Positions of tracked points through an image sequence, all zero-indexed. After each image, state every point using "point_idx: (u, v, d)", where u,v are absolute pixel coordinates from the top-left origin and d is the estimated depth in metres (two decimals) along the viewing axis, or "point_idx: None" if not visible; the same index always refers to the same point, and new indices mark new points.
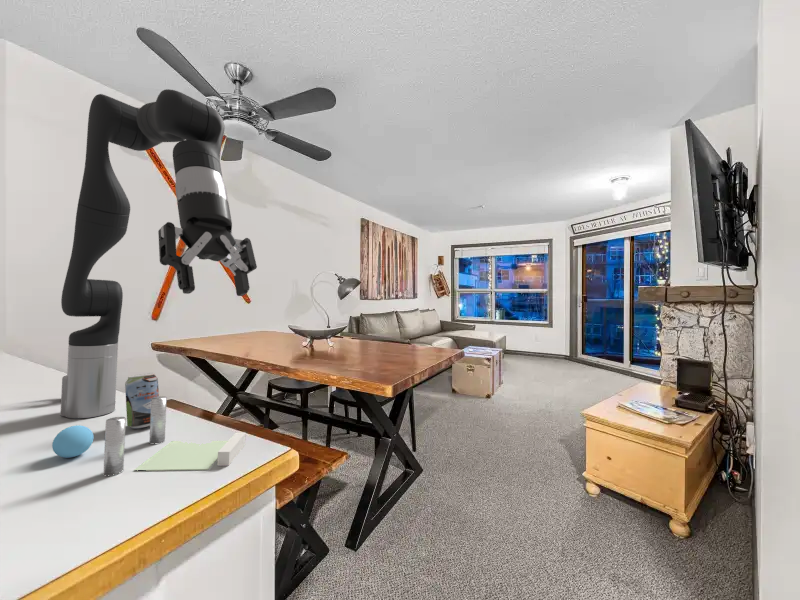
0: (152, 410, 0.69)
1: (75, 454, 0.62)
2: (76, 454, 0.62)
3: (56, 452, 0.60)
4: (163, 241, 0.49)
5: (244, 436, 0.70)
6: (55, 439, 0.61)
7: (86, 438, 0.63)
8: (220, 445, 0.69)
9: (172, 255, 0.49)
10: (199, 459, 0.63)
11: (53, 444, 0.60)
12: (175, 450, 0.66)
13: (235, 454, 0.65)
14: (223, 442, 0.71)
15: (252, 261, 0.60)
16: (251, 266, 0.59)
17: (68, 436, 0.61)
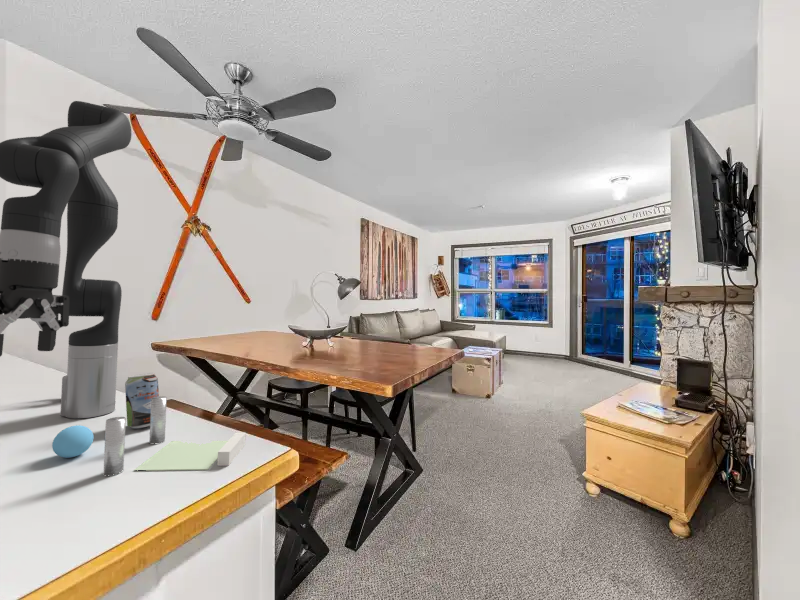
0: (152, 410, 0.69)
1: (75, 454, 0.62)
2: (76, 454, 0.62)
3: (56, 452, 0.60)
4: None
5: (244, 436, 0.70)
6: (55, 439, 0.61)
7: (86, 438, 0.63)
8: (220, 445, 0.69)
9: None
10: (199, 459, 0.63)
11: (53, 444, 0.60)
12: (175, 450, 0.66)
13: (235, 454, 0.65)
14: (223, 442, 0.71)
15: (65, 319, 0.65)
16: (63, 324, 0.65)
17: (68, 436, 0.61)
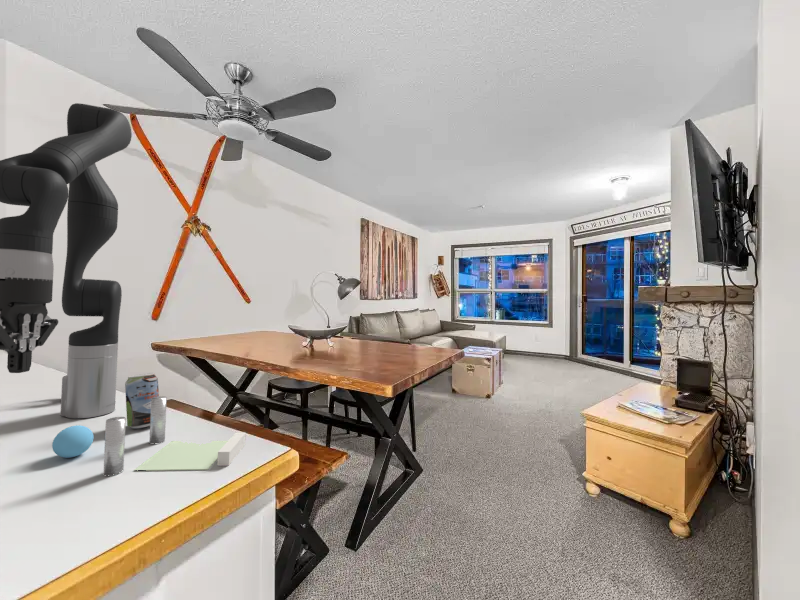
0: (152, 410, 0.69)
1: (75, 454, 0.62)
2: (76, 454, 0.62)
3: (56, 452, 0.60)
4: None
5: (244, 436, 0.70)
6: (55, 439, 0.61)
7: (86, 438, 0.63)
8: (220, 445, 0.69)
9: (14, 346, 0.59)
10: (199, 459, 0.63)
11: (53, 444, 0.60)
12: (175, 450, 0.66)
13: (235, 454, 0.65)
14: (223, 442, 0.71)
15: (43, 339, 0.65)
16: (38, 343, 0.64)
17: (68, 436, 0.61)
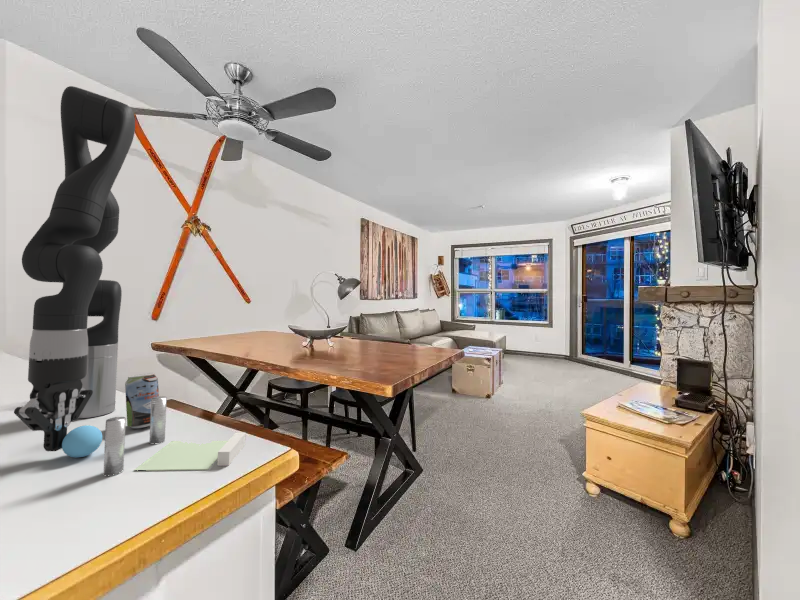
0: (152, 410, 0.69)
1: (81, 456, 0.62)
2: (82, 456, 0.62)
3: (64, 450, 0.61)
4: (33, 422, 0.57)
5: (244, 436, 0.70)
6: (67, 437, 0.61)
7: (96, 442, 0.63)
8: (220, 445, 0.69)
9: (50, 427, 0.59)
10: (199, 459, 0.63)
11: (65, 441, 0.61)
12: (175, 450, 0.66)
13: (235, 454, 0.65)
14: (223, 442, 0.71)
15: (78, 412, 0.65)
16: (73, 418, 0.64)
17: (80, 437, 0.61)
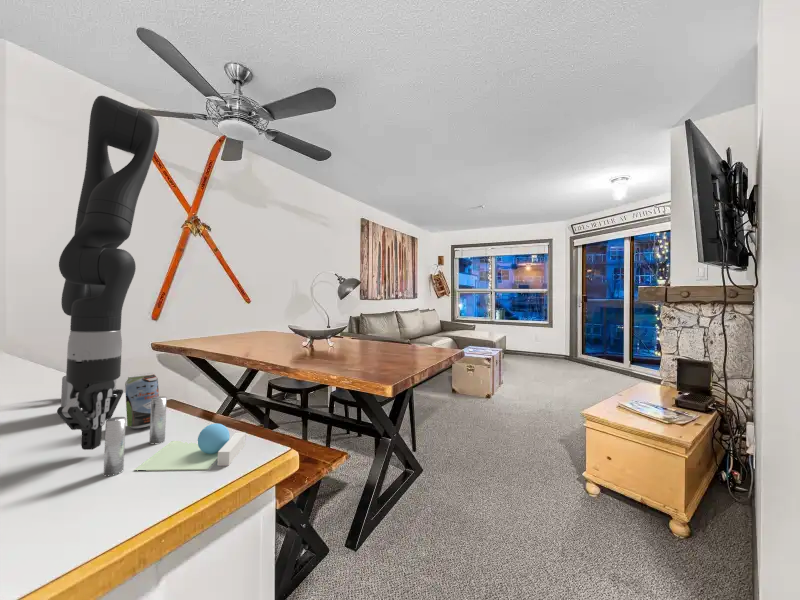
0: (152, 410, 0.69)
1: None
2: None
3: (207, 436, 0.64)
4: (74, 421, 0.59)
5: (244, 436, 0.70)
6: (219, 439, 0.65)
7: None
8: None
9: (89, 426, 0.61)
10: (199, 459, 0.63)
11: (216, 437, 0.65)
12: (175, 450, 0.66)
13: (235, 454, 0.65)
14: None
15: (111, 411, 0.66)
16: (107, 417, 0.66)
17: (215, 450, 0.65)
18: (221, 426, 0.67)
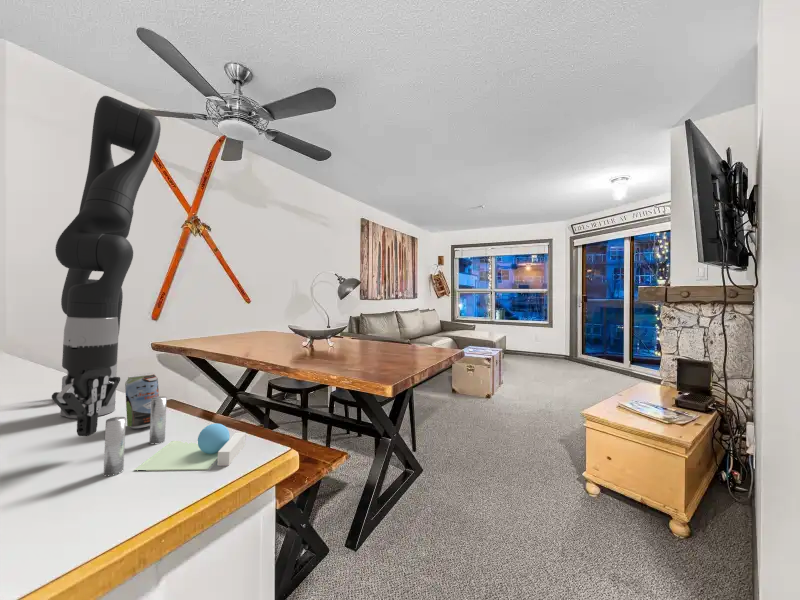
0: (152, 410, 0.69)
1: None
2: None
3: (207, 436, 0.64)
4: (69, 407, 0.58)
5: (244, 436, 0.70)
6: (219, 439, 0.65)
7: None
8: None
9: (84, 412, 0.61)
10: (199, 459, 0.63)
11: (216, 437, 0.65)
12: (175, 450, 0.66)
13: (235, 454, 0.65)
14: None
15: (108, 398, 0.66)
16: (104, 404, 0.65)
17: (215, 450, 0.65)
18: (221, 426, 0.67)
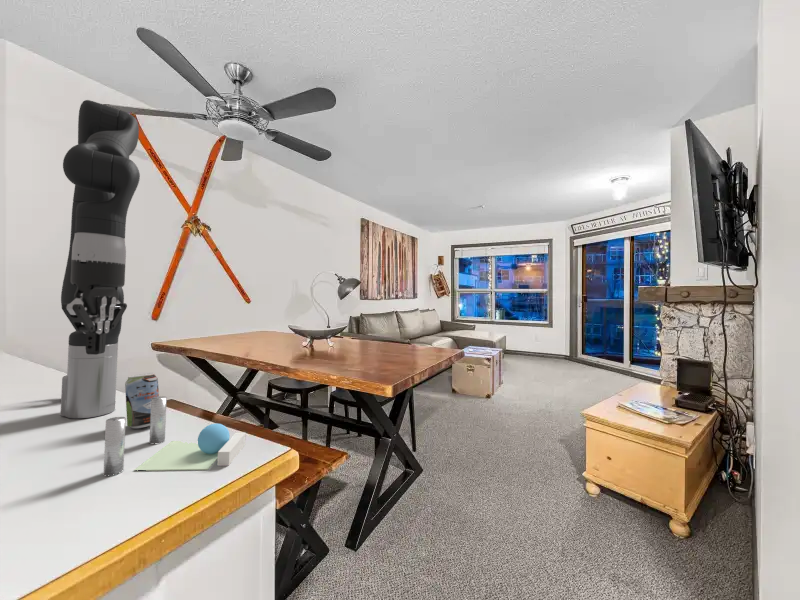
0: (152, 410, 0.69)
1: None
2: None
3: (207, 436, 0.64)
4: (78, 320, 0.59)
5: (244, 436, 0.70)
6: (219, 439, 0.65)
7: None
8: None
9: (93, 328, 0.61)
10: (199, 459, 0.63)
11: (216, 437, 0.65)
12: (175, 450, 0.66)
13: (235, 454, 0.65)
14: None
15: (115, 322, 0.66)
16: (111, 326, 0.66)
17: (215, 450, 0.65)
18: (221, 426, 0.67)
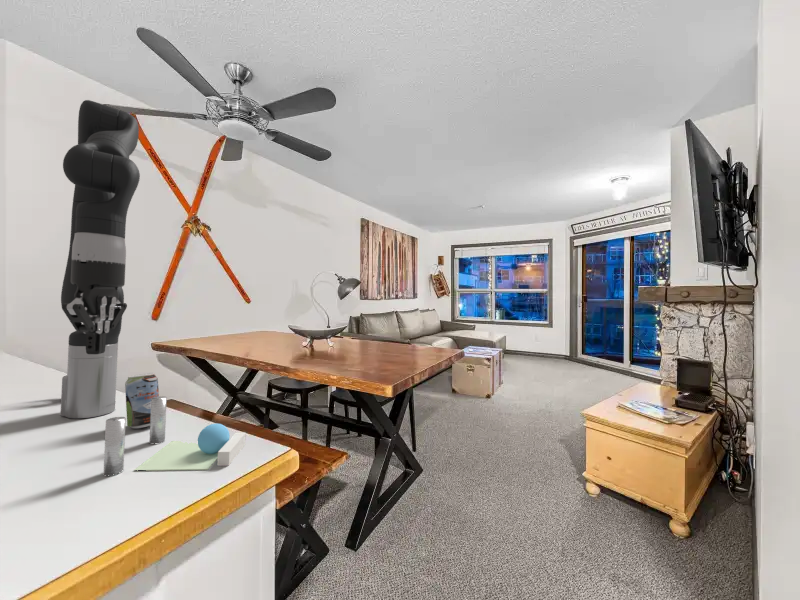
0: (152, 410, 0.69)
1: None
2: None
3: (207, 436, 0.64)
4: (79, 320, 0.59)
5: (244, 436, 0.70)
6: (219, 439, 0.65)
7: None
8: None
9: (93, 328, 0.61)
10: (199, 459, 0.63)
11: (216, 437, 0.65)
12: (175, 450, 0.66)
13: (235, 454, 0.65)
14: None
15: (115, 322, 0.66)
16: (111, 326, 0.66)
17: (215, 450, 0.65)
18: (221, 426, 0.67)
